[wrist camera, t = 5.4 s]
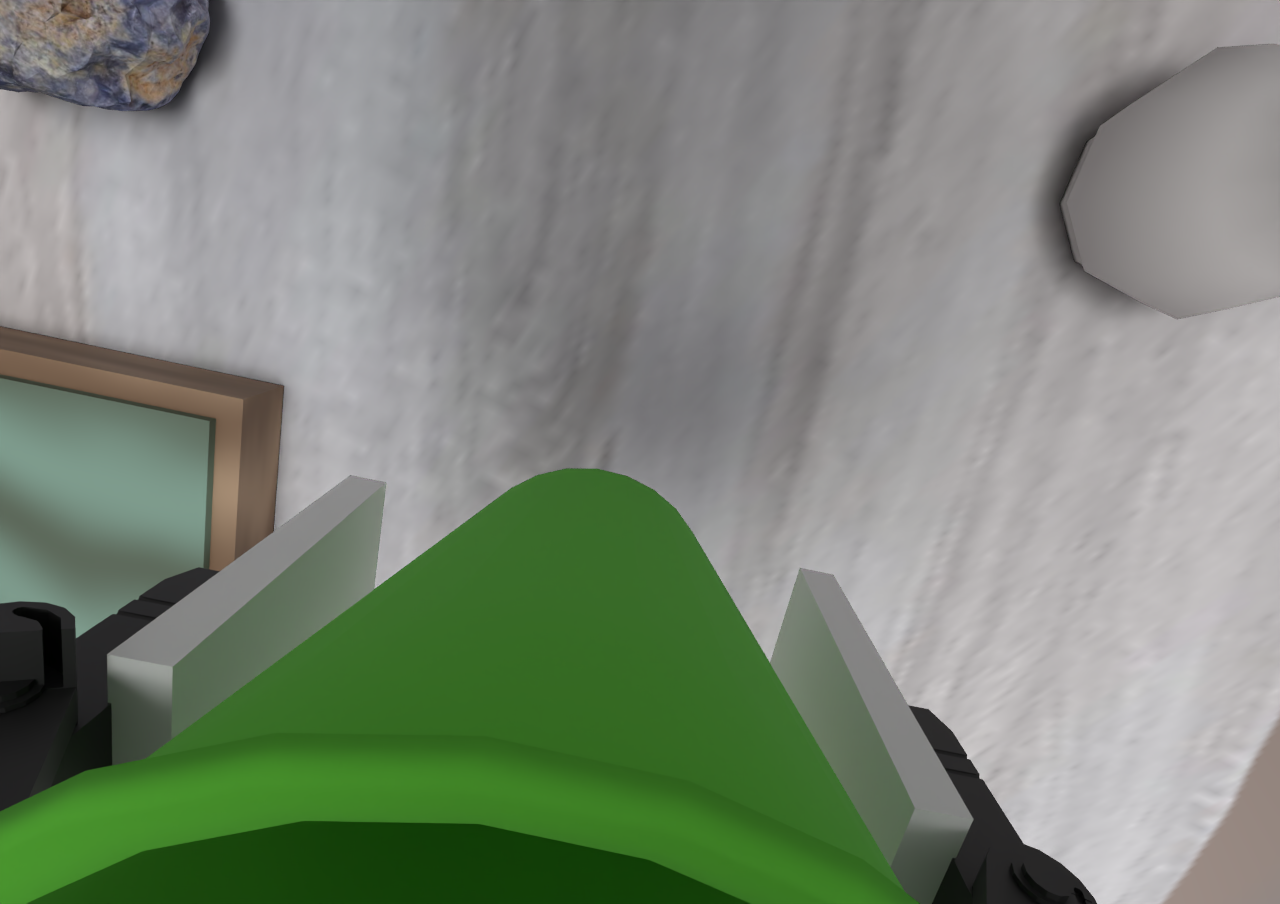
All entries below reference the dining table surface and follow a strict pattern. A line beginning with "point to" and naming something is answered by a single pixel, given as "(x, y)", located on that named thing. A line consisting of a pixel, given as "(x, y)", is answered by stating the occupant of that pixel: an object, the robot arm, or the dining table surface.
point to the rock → (101, 49)
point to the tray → (125, 472)
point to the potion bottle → (1187, 188)
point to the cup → (484, 744)
